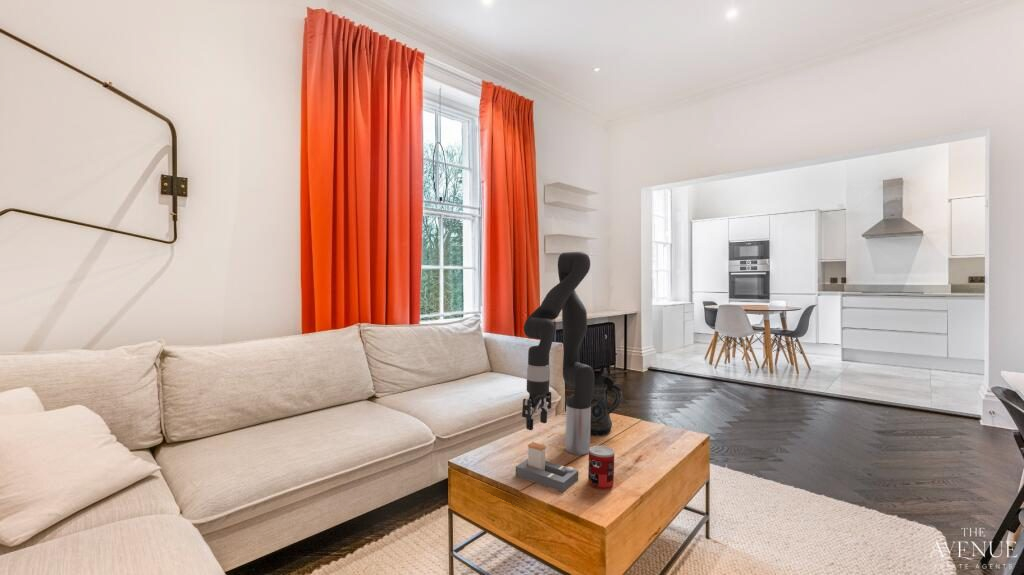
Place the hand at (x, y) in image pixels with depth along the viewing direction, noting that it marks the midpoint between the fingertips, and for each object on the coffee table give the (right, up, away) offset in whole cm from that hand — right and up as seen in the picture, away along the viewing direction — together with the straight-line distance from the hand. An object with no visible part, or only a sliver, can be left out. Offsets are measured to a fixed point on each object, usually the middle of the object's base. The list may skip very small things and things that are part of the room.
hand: (536, 426), depth 143 cm
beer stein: (+28, -15, +43) cm, 54 cm away
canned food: (+20, -17, -5) cm, 27 cm away
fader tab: (0, -16, +1) cm, 16 cm away
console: (+3, -16, -2) cm, 17 cm away
